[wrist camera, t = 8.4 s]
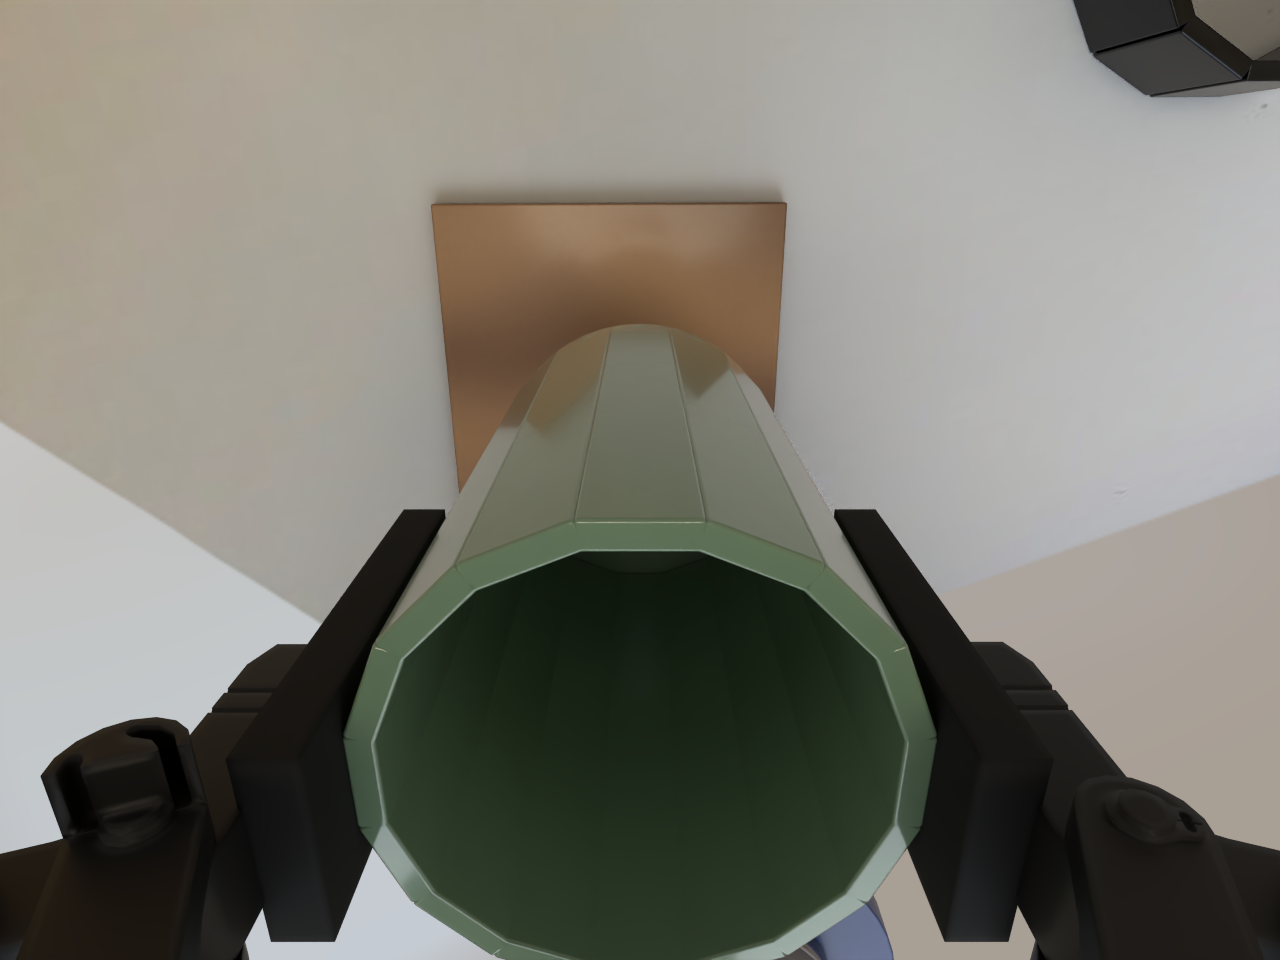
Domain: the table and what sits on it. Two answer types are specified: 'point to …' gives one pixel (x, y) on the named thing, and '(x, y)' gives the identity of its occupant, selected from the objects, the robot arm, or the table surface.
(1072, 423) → the table surface
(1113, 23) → the ring cup holder
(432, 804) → the cup
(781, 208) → the cork tile
